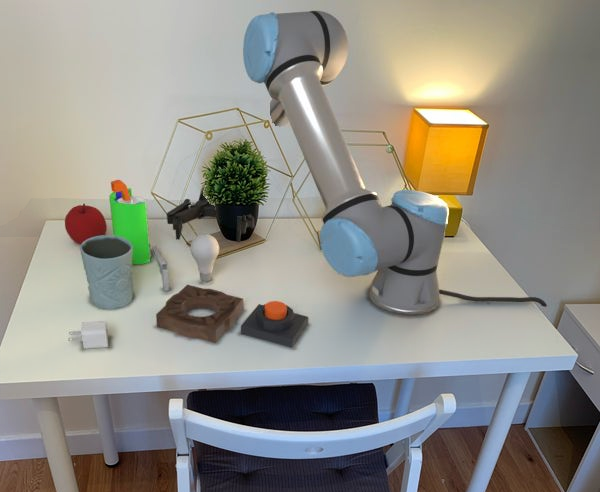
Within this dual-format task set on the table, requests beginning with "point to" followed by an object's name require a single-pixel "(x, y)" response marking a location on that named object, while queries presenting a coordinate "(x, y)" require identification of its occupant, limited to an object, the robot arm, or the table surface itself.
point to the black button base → (275, 327)
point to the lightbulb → (204, 254)
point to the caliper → (162, 268)
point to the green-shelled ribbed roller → (130, 220)
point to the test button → (275, 310)
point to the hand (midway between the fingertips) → (207, 235)
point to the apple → (84, 223)
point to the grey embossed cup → (108, 270)
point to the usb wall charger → (92, 335)
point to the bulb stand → (195, 326)
